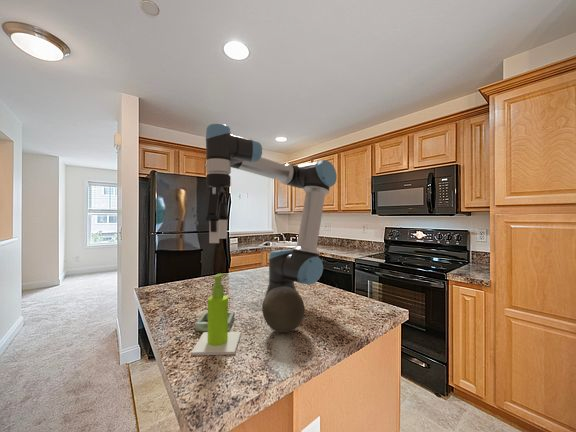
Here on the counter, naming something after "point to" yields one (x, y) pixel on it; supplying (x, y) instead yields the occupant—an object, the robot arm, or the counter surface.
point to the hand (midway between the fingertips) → (219, 240)
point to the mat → (224, 349)
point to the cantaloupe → (283, 309)
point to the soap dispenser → (218, 314)
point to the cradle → (203, 325)
